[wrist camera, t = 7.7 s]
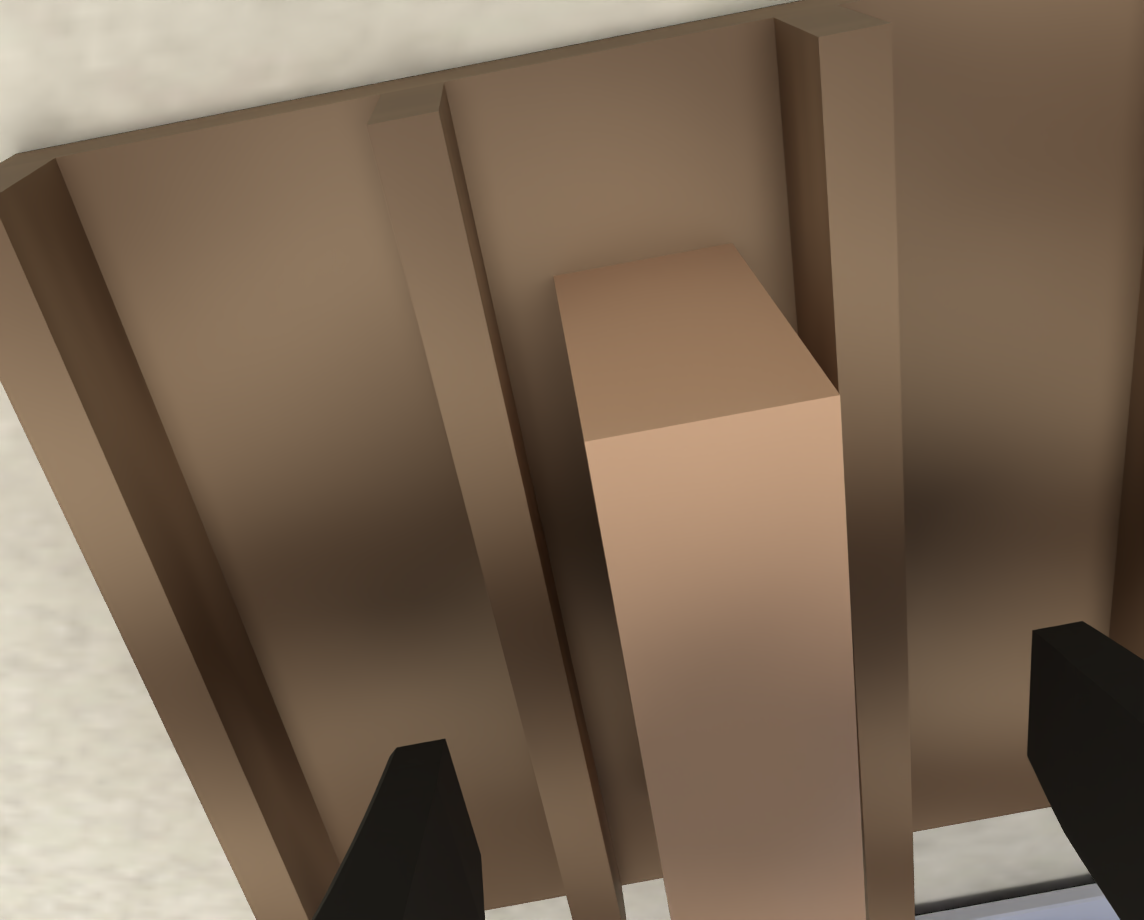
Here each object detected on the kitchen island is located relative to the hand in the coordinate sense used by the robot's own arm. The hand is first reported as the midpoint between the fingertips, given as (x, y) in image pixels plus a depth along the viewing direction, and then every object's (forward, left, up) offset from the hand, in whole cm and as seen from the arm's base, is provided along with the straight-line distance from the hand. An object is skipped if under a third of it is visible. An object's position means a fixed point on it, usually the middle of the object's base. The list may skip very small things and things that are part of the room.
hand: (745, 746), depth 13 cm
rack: (0, 0, -6) cm, 6 cm away
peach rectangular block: (0, 0, -5) cm, 5 cm away
